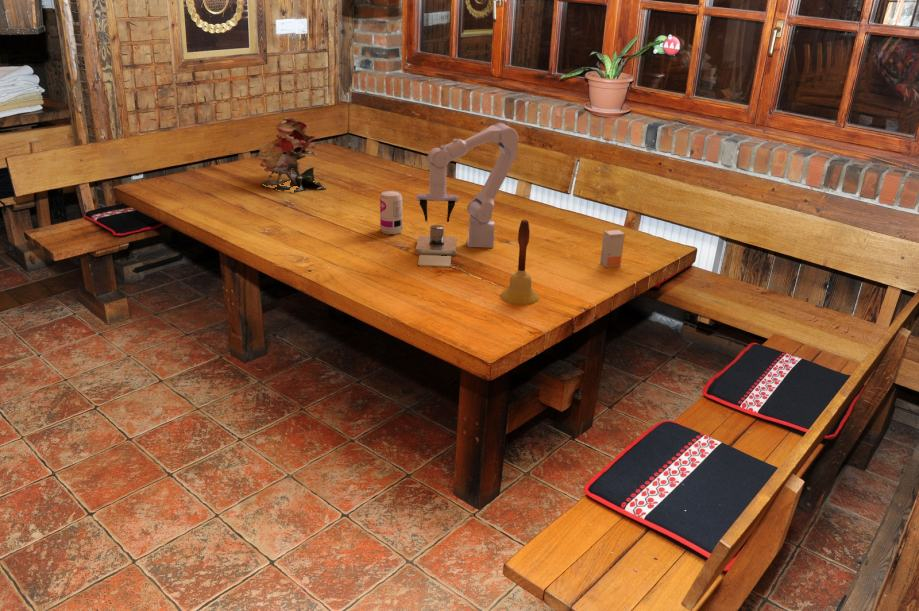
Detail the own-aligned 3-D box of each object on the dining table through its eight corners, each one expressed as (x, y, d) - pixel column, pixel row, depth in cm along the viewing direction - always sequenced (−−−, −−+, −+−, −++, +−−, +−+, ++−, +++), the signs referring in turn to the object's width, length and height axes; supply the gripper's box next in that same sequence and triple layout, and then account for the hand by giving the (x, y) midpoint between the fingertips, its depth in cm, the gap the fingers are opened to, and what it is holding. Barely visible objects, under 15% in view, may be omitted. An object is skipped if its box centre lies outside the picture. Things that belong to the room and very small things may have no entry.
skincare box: (605, 267, 265) (609, 234, 260) (599, 263, 269) (603, 230, 264) (621, 266, 267) (625, 233, 262) (615, 261, 271) (619, 229, 266)
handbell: (534, 288, 248) (539, 213, 237) (543, 304, 237) (550, 227, 226) (496, 289, 246) (500, 214, 235) (504, 306, 235) (508, 228, 224)
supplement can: (382, 236, 288) (382, 197, 281) (378, 228, 295) (378, 190, 289) (404, 234, 290) (404, 196, 283) (399, 227, 297) (399, 189, 291)
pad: (451, 257, 270) (451, 256, 270) (450, 267, 262) (450, 265, 262) (419, 256, 270) (419, 254, 270) (417, 265, 262) (417, 264, 262)
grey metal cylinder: (443, 246, 280) (444, 225, 276) (443, 250, 275) (443, 229, 272) (430, 245, 280) (430, 224, 276) (429, 250, 276) (429, 229, 272)
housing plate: (456, 242, 284) (456, 237, 283) (455, 256, 271) (455, 250, 270) (418, 240, 284) (418, 235, 283) (415, 254, 271) (415, 249, 271)
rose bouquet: (300, 173, 361) (296, 109, 348) (332, 188, 341) (329, 120, 328) (249, 182, 346) (243, 114, 333) (280, 198, 326) (274, 127, 313)
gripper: (416, 185, 264) (415, 223, 270) (458, 187, 264) (457, 225, 270) (417, 180, 270) (417, 217, 276) (458, 181, 270) (457, 218, 276)
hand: (437, 220), depth 273 cm, fingers open, 7 cm apart
